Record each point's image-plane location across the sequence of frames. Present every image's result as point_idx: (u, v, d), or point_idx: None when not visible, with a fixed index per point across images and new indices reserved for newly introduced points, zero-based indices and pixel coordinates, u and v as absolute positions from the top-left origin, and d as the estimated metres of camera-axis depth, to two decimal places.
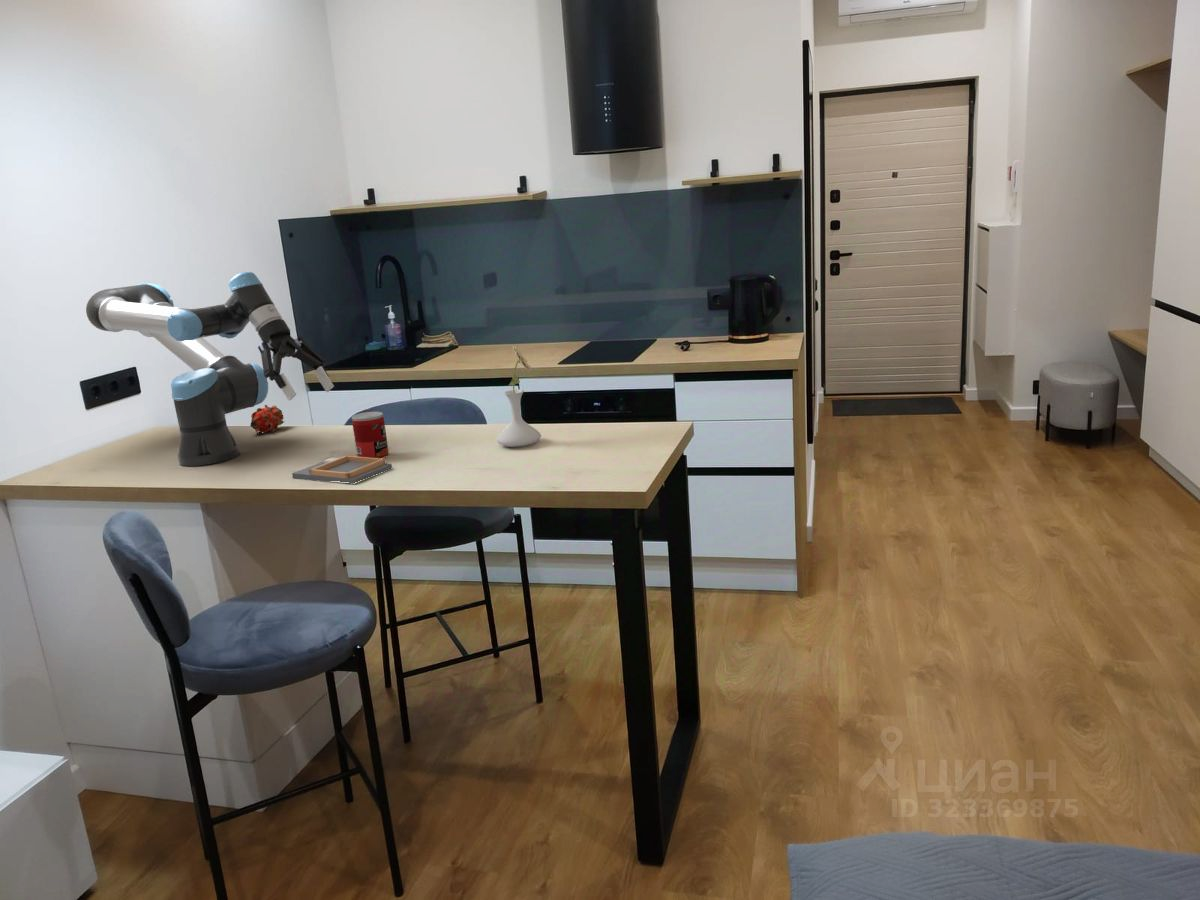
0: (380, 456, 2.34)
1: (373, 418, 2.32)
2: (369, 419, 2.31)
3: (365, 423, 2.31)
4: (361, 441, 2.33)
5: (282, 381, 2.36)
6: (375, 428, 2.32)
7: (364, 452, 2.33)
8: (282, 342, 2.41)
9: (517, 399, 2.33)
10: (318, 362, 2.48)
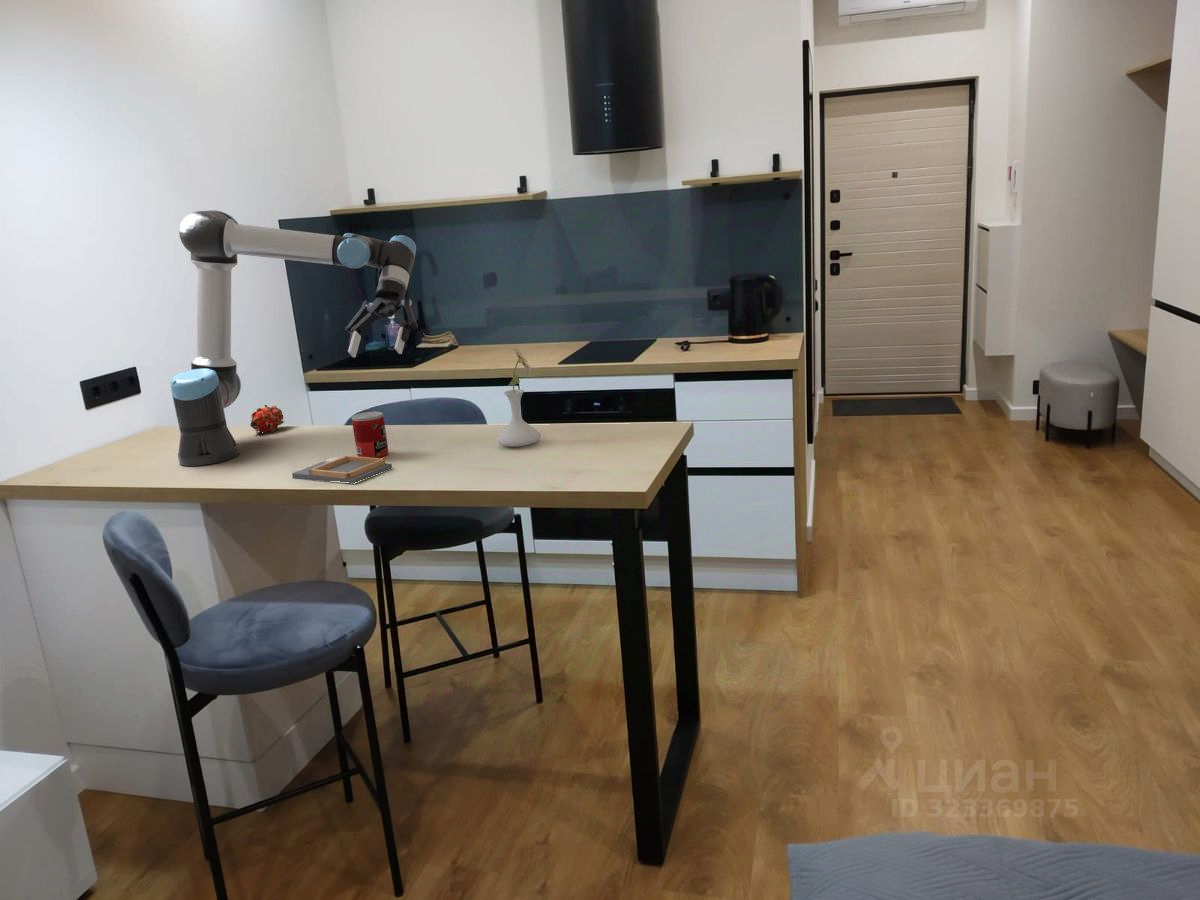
0: (380, 456, 2.34)
1: (373, 418, 2.32)
2: (369, 419, 2.31)
3: (365, 423, 2.31)
4: (361, 441, 2.33)
5: None
6: (375, 428, 2.32)
7: (364, 452, 2.33)
8: None
9: (517, 399, 2.33)
10: None
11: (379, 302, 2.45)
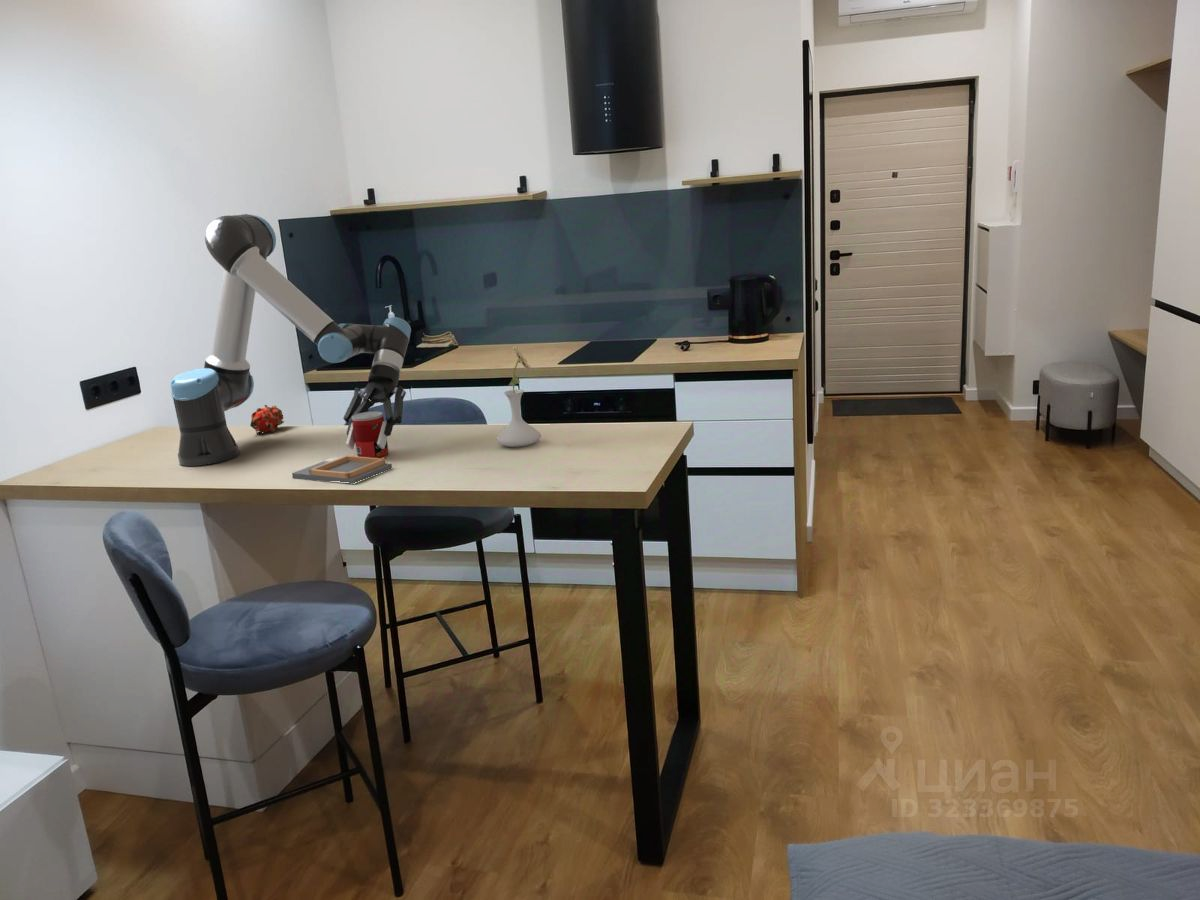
0: (380, 456, 2.34)
1: (373, 418, 2.32)
2: (369, 419, 2.31)
3: (364, 423, 2.31)
4: (361, 440, 2.33)
5: None
6: (375, 428, 2.32)
7: (363, 451, 2.33)
8: None
9: (517, 399, 2.33)
10: None
11: (372, 387, 2.40)
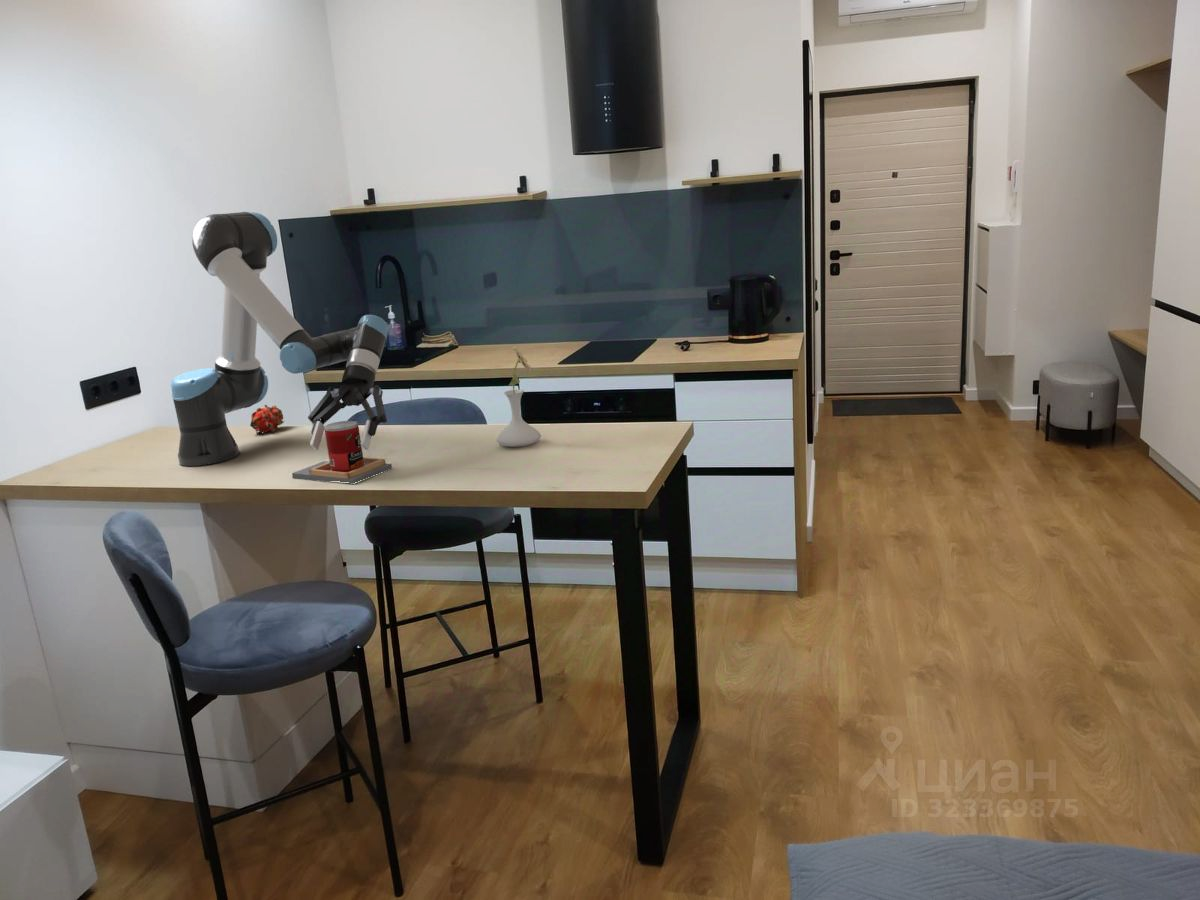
0: (354, 468, 2.20)
1: (347, 428, 2.17)
2: (342, 429, 2.17)
3: (338, 433, 2.17)
4: (334, 452, 2.19)
5: None
6: (349, 439, 2.18)
7: (337, 464, 2.19)
8: None
9: (517, 399, 2.33)
10: None
11: (346, 389, 2.25)
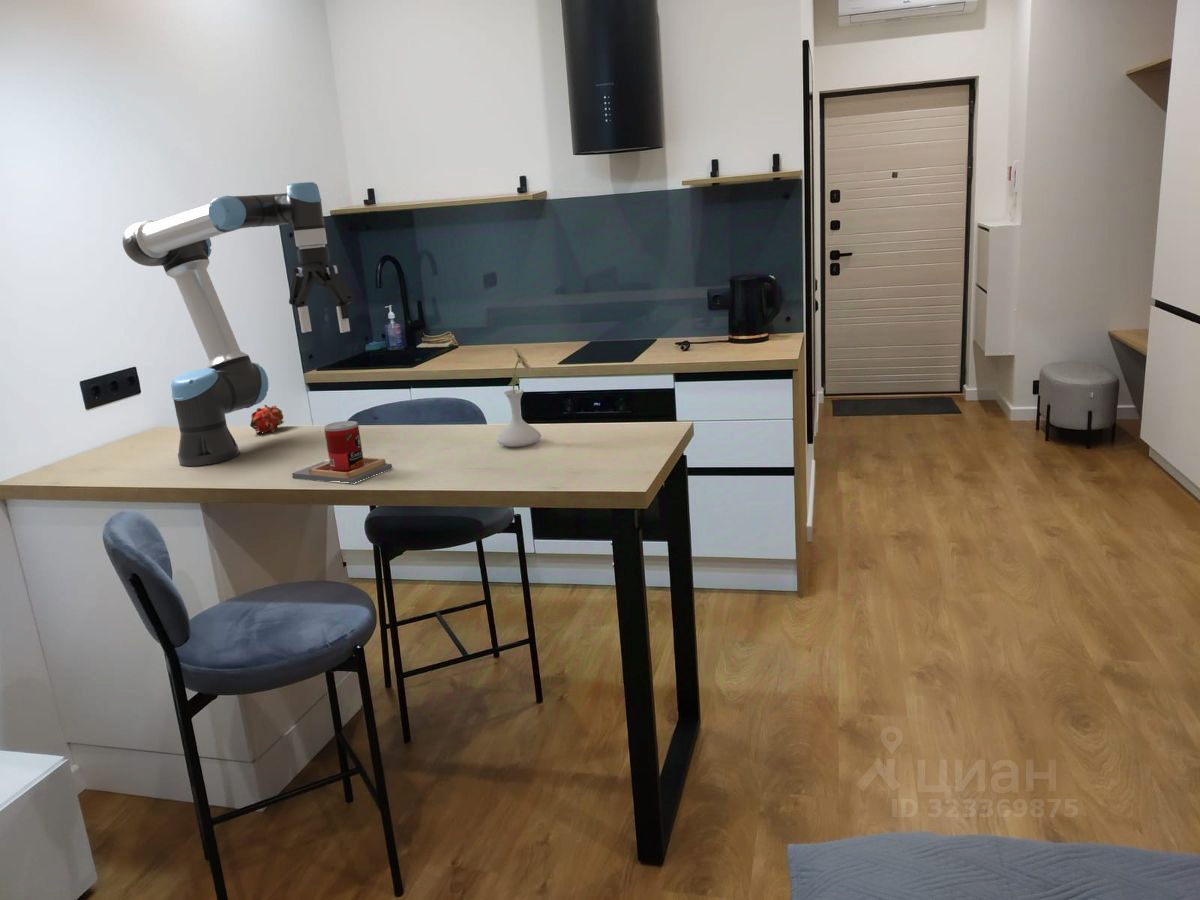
0: (354, 468, 2.20)
1: (347, 428, 2.17)
2: (342, 429, 2.17)
3: (338, 434, 2.17)
4: (334, 452, 2.19)
5: None
6: (349, 439, 2.18)
7: (337, 464, 2.19)
8: None
9: (517, 399, 2.33)
10: None
11: (307, 274, 2.32)
